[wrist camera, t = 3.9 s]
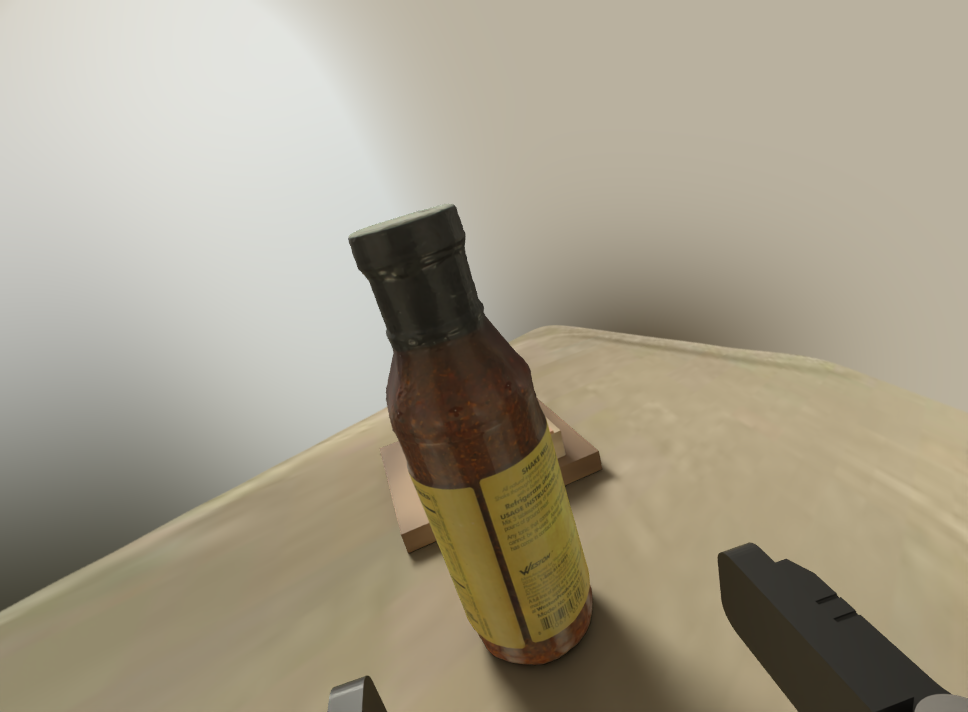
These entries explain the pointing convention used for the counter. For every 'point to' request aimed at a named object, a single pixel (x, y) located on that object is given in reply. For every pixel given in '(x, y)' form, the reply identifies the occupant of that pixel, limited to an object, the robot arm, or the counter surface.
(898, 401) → the counter surface
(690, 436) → the counter surface
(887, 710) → the robot arm
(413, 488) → the pedestal
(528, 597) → the sauce bottle
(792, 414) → the counter surface
